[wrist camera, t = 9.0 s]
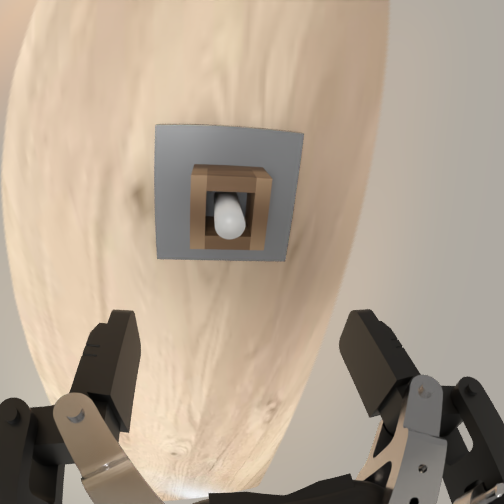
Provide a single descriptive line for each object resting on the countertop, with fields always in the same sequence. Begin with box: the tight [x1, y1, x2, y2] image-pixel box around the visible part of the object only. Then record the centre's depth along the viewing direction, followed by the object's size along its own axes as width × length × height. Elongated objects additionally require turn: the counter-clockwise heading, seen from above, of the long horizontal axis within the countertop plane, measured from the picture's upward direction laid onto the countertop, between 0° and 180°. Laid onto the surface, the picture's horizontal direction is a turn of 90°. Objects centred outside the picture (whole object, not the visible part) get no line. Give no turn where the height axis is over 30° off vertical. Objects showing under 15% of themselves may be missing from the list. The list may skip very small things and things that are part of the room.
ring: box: [190, 164, 272, 250], centre depth 23 cm, size 6×6×4 cm
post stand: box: [154, 124, 304, 261], centre depth 22 cm, size 12×12×7 cm
